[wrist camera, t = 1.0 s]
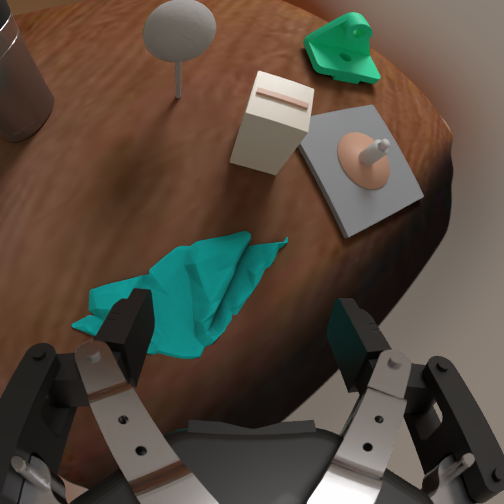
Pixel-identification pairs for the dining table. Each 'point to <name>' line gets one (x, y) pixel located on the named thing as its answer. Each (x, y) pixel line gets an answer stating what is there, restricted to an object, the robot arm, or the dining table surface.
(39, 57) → the dining table surface
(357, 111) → the base
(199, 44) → the lollipop
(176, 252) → the cloth
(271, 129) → the striped cream block
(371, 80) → the camera mount
